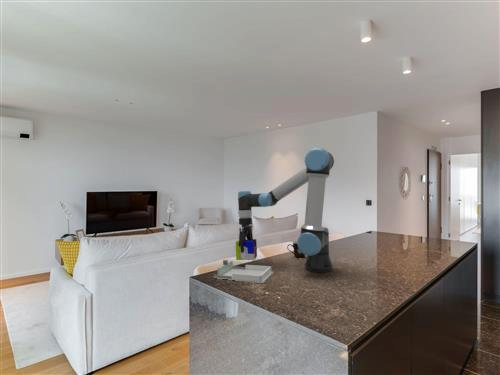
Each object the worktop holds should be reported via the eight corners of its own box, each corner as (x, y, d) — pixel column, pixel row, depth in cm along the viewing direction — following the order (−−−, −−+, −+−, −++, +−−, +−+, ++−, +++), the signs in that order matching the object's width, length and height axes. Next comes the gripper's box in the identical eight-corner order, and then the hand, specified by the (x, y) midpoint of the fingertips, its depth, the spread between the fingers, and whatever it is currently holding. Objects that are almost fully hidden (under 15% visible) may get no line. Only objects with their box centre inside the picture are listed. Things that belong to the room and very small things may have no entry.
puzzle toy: (253, 259, 156) (252, 241, 157) (236, 259, 158) (235, 241, 159) (257, 256, 166) (256, 239, 166) (240, 256, 168) (239, 239, 168)
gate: (233, 268, 155) (233, 257, 156) (220, 276, 140) (220, 264, 140) (229, 267, 156) (229, 257, 156) (216, 275, 140) (216, 263, 141)
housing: (273, 272, 149) (273, 266, 149) (263, 283, 131) (263, 276, 131) (229, 269, 157) (229, 263, 158) (213, 278, 140) (213, 271, 140)
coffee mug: (308, 257, 186) (308, 242, 186) (303, 260, 179) (303, 244, 179) (292, 255, 192) (291, 240, 192) (286, 258, 185) (286, 242, 185)
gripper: (246, 216, 175) (247, 252, 174) (231, 219, 154) (232, 260, 153) (257, 216, 173) (259, 252, 172) (244, 218, 151) (245, 260, 150)
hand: (246, 256), depth 162 cm, fingers closed on puzzle toy, 10 cm apart
